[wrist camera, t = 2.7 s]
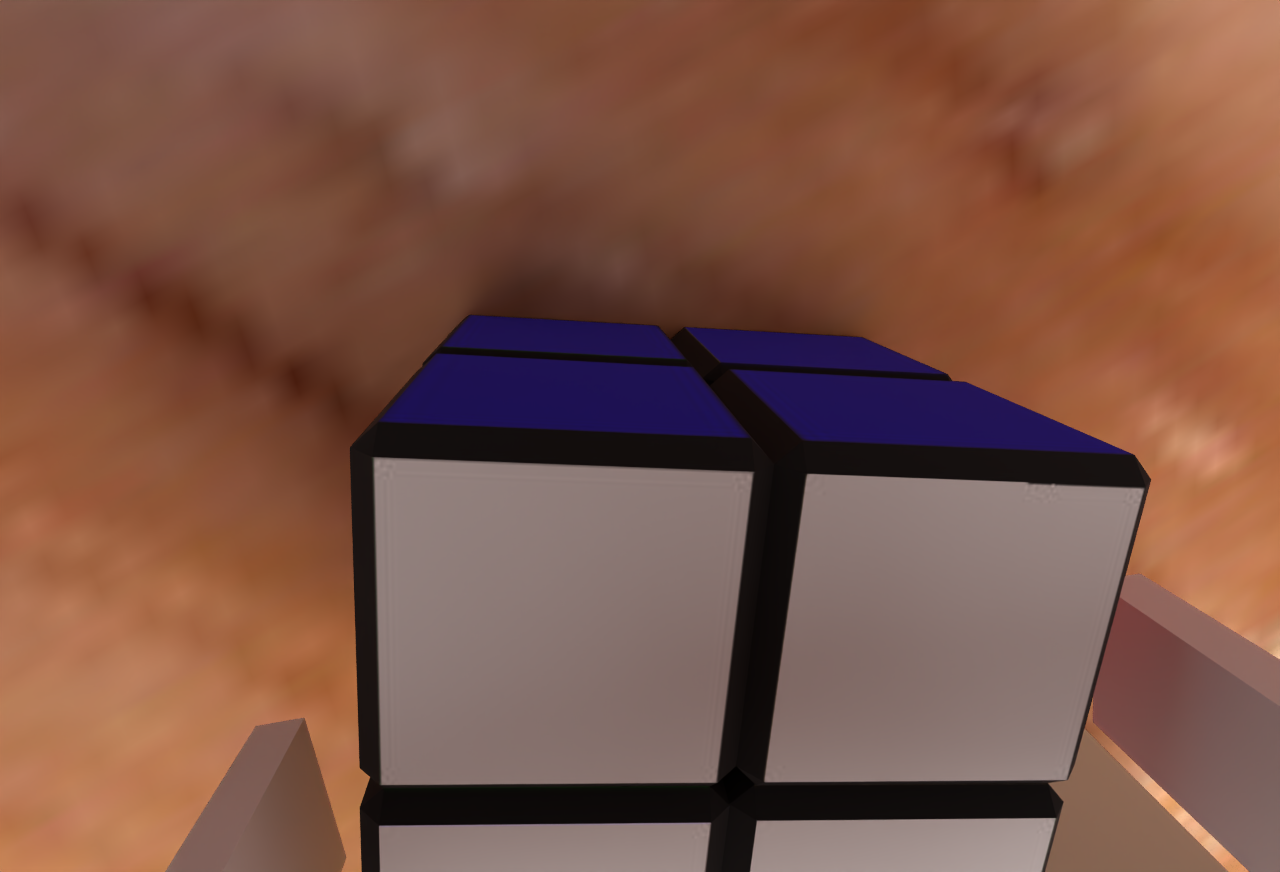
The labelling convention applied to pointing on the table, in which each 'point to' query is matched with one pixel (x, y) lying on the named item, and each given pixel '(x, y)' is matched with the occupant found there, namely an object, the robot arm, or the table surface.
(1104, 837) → the pedestal
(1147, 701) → the robot arm
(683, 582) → the puzzle cube
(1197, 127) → the table surface
